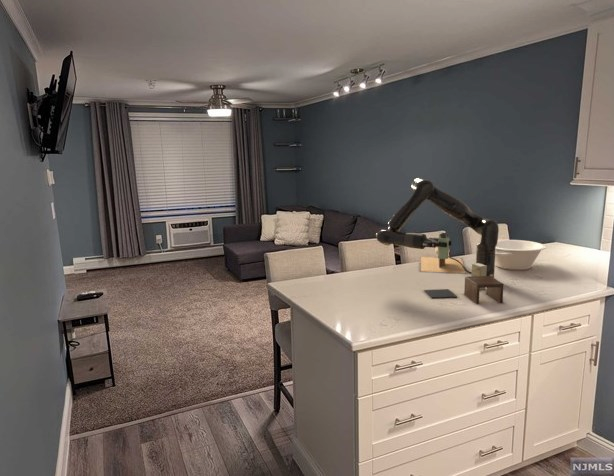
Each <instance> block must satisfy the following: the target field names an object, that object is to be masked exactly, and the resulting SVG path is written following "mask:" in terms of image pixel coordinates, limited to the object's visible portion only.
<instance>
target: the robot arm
mask: <svg viewBox="0 0 614 476" xmlns="http://www.w3.org/2000/svg"><path fill="white" fill-rule="evenodd" d="M411 190H412V192H413V194H412V195H411V196H410V198H409V199H408V200H407V201H406V202H405V203H404V204H403V205H402V206H400V208H398V210H397V211H396V212H395V213H394V214H393V215H392V217H391V218H390V220H389V221H388V223H387V224H388V228H387V229H381V230H378V232H377V233H376V234H375V235H376V236H375V237H376V241H378V243H380V244H382V245H383V246H390V245H394V246H398V247H405V248H409V249H417V250H425V248H434V249H436V247H447V243H445V242H438V237H429V238H428V237H427V235H426V234H425V233H419V232H418V233H417V232H400V231H401V229H402V228H403V226H404V225H405V224H406V222H407V221H409V219H410V217H411V216H412V215H413V214H414V212H416V210H417V209H418V208H420V206H421V205H422V204H423V203H424V202H425V201H426V200H427V201H429V202H431V203H432V204H434V206H436V207H437V208H438V209H439V210H441V211H442V212H444V213H445V214H446V215H448V216H449V217H451V218H453V219H455V220H457V221H458V222H461V223H463V224H464V225H466V226H468V227H469V228H470V229H472V230H473V231H474V232H475V233H477V234H478V235H480V241H479V242H477V243H476V254H475V263H480V264H483V265H486V266H487V272H486V276H491V277H493V278H494V279H495V269H496V268H495V267H496V265H495V248H496V245H497V242H498V240H499V231H500V227H499V224H498V222H497V221H496V220H495V219H491V218H486V217H483V216H480V215H479V214H477V213H475V212H474V211H472V210H471V208H470V207H469V206H468V205H467V204H466V203H465V202H463V201H462V200H461V199H459V198H457V197H455V196H453V195H451V194H450V193H447V192H446V191H443V190H440V189H439V188H438V187H436V186H435V185H434V183H433V182H432V181H431V180H429V179H427V178H425V177H417V178H415V179H414V180H413V181H412V183H411ZM450 246H452V240H449V247H450ZM448 258H452V259H454V258H455V257H452V256H449V255H448ZM454 260H456V259H454ZM456 261H458V260H456ZM458 262H459V263H460V264H461V265H462V266H463V265H464V263H463V264H462V263H461V262H460V261H458ZM463 268H464V269H465V271H466V273H469V274H471V272H472V271H469V270H468V269H466V267H465V265H464V266H463Z"/></svg>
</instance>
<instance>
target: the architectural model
mask: <svg viewBox="0 0 614 476" xmlns="http://www.w3.org/2000/svg"><path fill="white" fill-rule="evenodd" d="M444 233H447V231H444ZM438 237H441V230H439V231H438ZM450 250H451V248H450V247H449V251H448V253H450ZM435 254H436V255H438V247H436V248H435ZM452 258H454V259H456V260H458V261H460V262H461V263H462V264H463V266H464V267H465V265H464V262H463V259H462V258H460V257H459V258H458V257H456V258H455V257H452ZM452 258H449V257H448V259H439V258H438V257H429V256H427V257H426V256H421V257H420V272H428V273H429V272H431V273H456V274H467V271H465V269H466V268H465V269H464V268H463V266H462V265H461V264H460V263H459V262H458V261H456V260H454V259H452Z"/></svg>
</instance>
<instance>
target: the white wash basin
mask: <svg viewBox="0 0 614 476" xmlns="http://www.w3.org/2000/svg"><path fill="white" fill-rule="evenodd" d="M545 249H547V246H546V245H545V244H543V243H541V242H537V241H531V240H523V239H522V240H521V239H498V242H497V245H496V248H495V267H498V268H500V269H503V270H508V271H509V270H510V271H525V270H529V269H531V268H532V266H533V265H534V263H535V261H536V259H537V258H538V257H539V255H540V253H541V251H543V250H545Z"/></svg>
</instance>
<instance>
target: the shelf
mask: <svg viewBox="0 0 614 476" xmlns="http://www.w3.org/2000/svg"><path fill="white" fill-rule="evenodd" d="M504 285H505V284H504V282H501V281H499V280H498V279H496V278H495V277H494V278H493V277H491V276H471V275H469V276H464V290H463V291H464V293H463V295H464V296H465V297H467V298H468V299H469V300H470V301H472V302H473V303H474V304H476V305H479V304H480V291H481V290H480V288H485V289H486V295H487V296H488V297H490V298H491V299H493V300H495V301H496V302H498V303H499V304H504V303H503V301H504Z"/></svg>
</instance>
